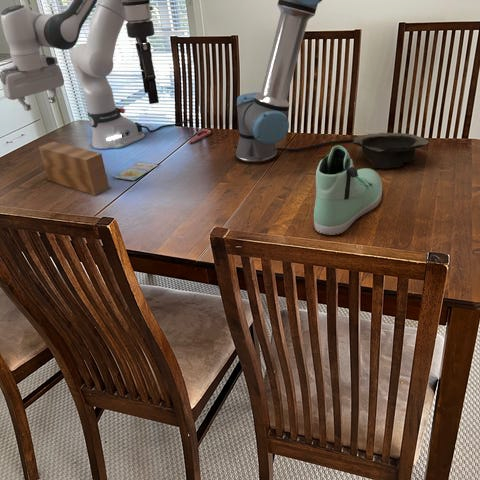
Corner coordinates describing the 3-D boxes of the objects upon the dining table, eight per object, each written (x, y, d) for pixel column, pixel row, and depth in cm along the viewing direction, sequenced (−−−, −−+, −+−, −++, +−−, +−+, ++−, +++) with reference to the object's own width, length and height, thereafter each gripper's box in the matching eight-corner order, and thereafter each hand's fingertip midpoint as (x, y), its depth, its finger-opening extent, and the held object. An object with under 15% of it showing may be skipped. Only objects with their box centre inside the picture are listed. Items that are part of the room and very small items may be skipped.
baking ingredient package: (113, 176, 169) (139, 161, 181) (113, 177, 170) (139, 162, 181) (133, 179, 166) (158, 164, 177) (134, 180, 166) (158, 165, 177)
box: (48, 180, 173) (38, 147, 166) (62, 174, 177) (53, 141, 170) (95, 195, 159) (86, 159, 152) (109, 188, 163) (101, 153, 156)
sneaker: (389, 187, 148) (396, 123, 138) (356, 242, 123) (361, 168, 112) (346, 181, 154) (350, 119, 144) (306, 232, 129) (307, 161, 118)
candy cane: (180, 142, 197) (179, 139, 196) (203, 131, 207) (202, 127, 206) (191, 144, 194) (191, 141, 193) (214, 133, 204) (213, 129, 203)
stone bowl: (386, 179, 152) (387, 151, 148) (337, 161, 173) (337, 136, 168) (443, 160, 161) (445, 133, 157) (390, 145, 182) (391, 120, 177)
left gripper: (3, 70, 143) (17, 116, 151) (60, 57, 157) (71, 99, 164) (-8, 69, 147) (6, 113, 154) (49, 56, 160) (60, 97, 168)
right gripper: (157, 24, 124) (169, 106, 135) (147, 15, 145) (158, 86, 156) (128, 27, 123) (143, 110, 134) (122, 18, 143) (135, 89, 154)
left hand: (40, 106), depth 159 cm, fingers open, 8 cm apart
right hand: (151, 97), depth 145 cm, fingers open, 13 cm apart
